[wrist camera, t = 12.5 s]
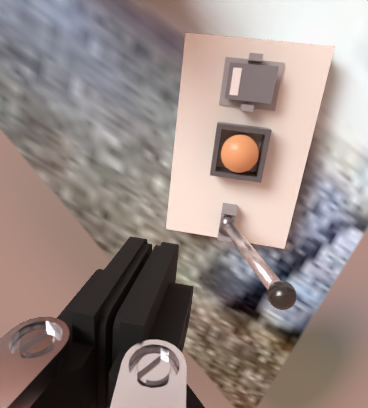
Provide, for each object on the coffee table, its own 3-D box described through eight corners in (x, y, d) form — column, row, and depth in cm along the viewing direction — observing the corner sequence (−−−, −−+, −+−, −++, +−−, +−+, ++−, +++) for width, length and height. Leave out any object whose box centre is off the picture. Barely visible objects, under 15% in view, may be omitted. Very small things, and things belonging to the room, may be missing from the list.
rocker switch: (279, 67, 28) (278, 66, 27) (271, 104, 29) (270, 104, 28) (231, 64, 29) (229, 62, 28) (226, 99, 30) (224, 98, 29)
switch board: (325, 51, 30) (344, 41, 25) (280, 237, 37) (288, 259, 32) (189, 38, 32) (181, 26, 27) (170, 219, 39) (161, 237, 34)
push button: (260, 135, 30) (262, 138, 28) (253, 170, 31) (254, 175, 30) (224, 131, 31) (223, 133, 29) (219, 165, 32) (218, 169, 30)
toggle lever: (234, 213, 34) (305, 291, 21) (231, 229, 34) (298, 315, 21) (217, 212, 33) (278, 292, 20) (214, 229, 34) (272, 316, 21)
